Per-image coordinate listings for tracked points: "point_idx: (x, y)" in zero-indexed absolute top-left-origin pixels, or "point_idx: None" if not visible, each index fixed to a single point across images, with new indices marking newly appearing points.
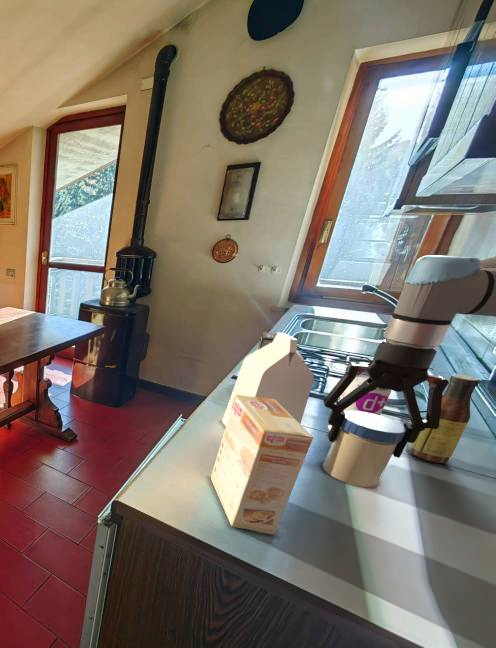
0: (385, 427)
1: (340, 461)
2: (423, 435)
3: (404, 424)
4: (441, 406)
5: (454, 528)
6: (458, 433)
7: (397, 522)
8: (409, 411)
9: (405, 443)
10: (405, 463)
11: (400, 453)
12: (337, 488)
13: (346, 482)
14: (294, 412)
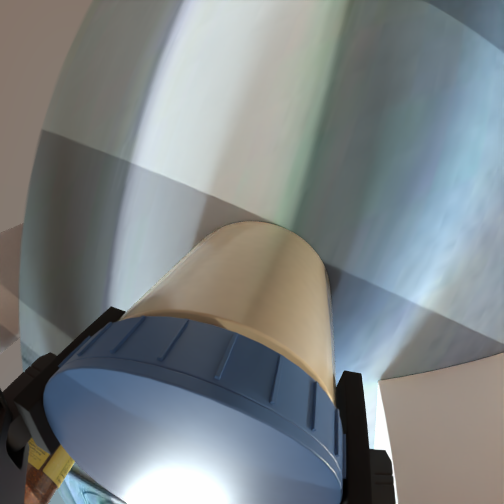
0: (123, 431)
1: (317, 284)
2: None
3: (53, 446)
4: (28, 492)
5: (88, 99)
6: None
7: (213, 40)
8: (4, 500)
9: (70, 348)
10: None
11: (102, 318)
12: (332, 175)
13: (286, 229)
14: (432, 492)
